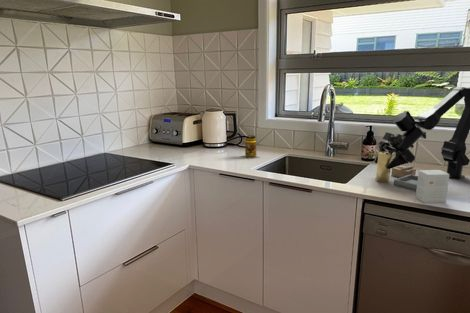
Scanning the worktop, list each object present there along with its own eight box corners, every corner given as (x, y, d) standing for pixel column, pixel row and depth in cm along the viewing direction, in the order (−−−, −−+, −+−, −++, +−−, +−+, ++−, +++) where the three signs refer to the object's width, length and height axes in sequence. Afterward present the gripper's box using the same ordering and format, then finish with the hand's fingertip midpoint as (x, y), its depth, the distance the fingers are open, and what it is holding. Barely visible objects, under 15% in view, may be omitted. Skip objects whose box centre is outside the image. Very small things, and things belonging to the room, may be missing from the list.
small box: (436, 197, 123) (440, 169, 121) (446, 202, 118) (450, 173, 115) (414, 197, 123) (418, 169, 121) (423, 203, 118) (427, 174, 115)
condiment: (248, 159, 181) (248, 137, 178) (240, 156, 188) (240, 135, 185) (259, 157, 185) (260, 136, 182) (251, 154, 192) (251, 133, 189)
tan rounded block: (401, 172, 154) (402, 162, 153) (416, 176, 149) (417, 165, 148) (390, 175, 149) (391, 165, 148) (405, 179, 144) (406, 169, 143)
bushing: (380, 178, 146) (383, 151, 143) (391, 181, 142) (394, 153, 139) (373, 180, 143) (375, 152, 140) (384, 183, 139) (387, 155, 136)
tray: (409, 179, 144) (410, 174, 144) (440, 186, 134) (441, 181, 134) (393, 184, 137) (394, 179, 137) (424, 192, 127) (425, 187, 127)
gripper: (384, 122, 147) (358, 148, 148) (411, 129, 129) (381, 158, 130) (398, 139, 150) (373, 164, 151) (427, 148, 132) (398, 176, 133)
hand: (380, 165), depth 141 cm, fingers open, 9 cm apart
